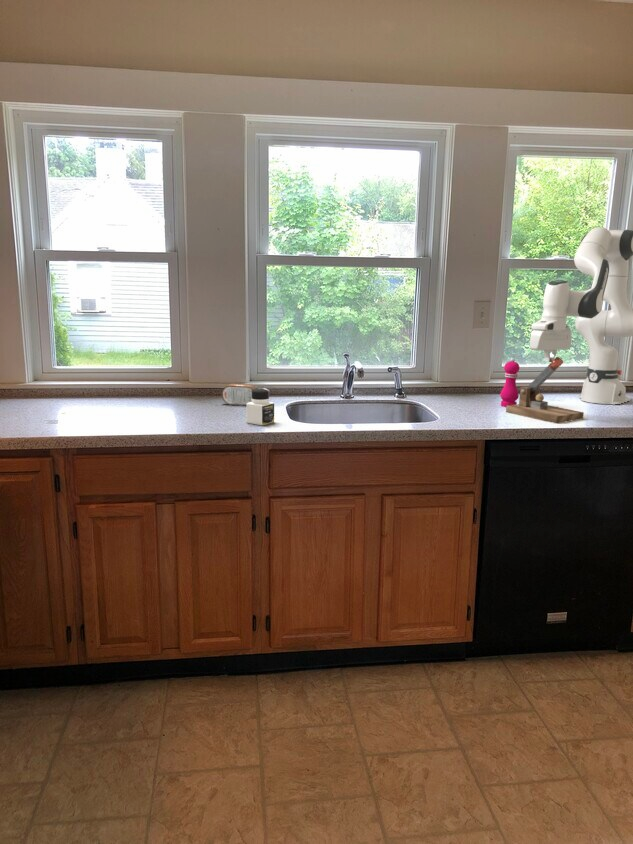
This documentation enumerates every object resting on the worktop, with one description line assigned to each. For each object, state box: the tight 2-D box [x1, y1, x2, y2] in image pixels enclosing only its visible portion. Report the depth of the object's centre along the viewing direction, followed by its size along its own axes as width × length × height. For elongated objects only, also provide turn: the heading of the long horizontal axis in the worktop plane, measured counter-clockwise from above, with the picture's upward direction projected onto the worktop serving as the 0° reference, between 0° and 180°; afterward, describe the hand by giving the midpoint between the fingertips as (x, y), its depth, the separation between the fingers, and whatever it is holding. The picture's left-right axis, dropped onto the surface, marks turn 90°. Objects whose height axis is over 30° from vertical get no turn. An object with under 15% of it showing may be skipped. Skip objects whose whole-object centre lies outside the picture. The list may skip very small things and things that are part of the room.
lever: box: [527, 356, 564, 396], centre depth 242 cm, size 21×3×3 cm
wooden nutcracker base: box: [505, 386, 584, 424], centre depth 242 cm, size 16×23×10 cm
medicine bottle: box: [245, 387, 275, 426], centre depth 221 cm, size 7×7×12 cm
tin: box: [221, 383, 257, 407], centre depth 252 cm, size 15×3×8 cm, turn 80°
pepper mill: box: [499, 357, 520, 408], centre depth 258 cm, size 7×7×20 cm
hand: (549, 362), depth 237 cm, fingers closed
